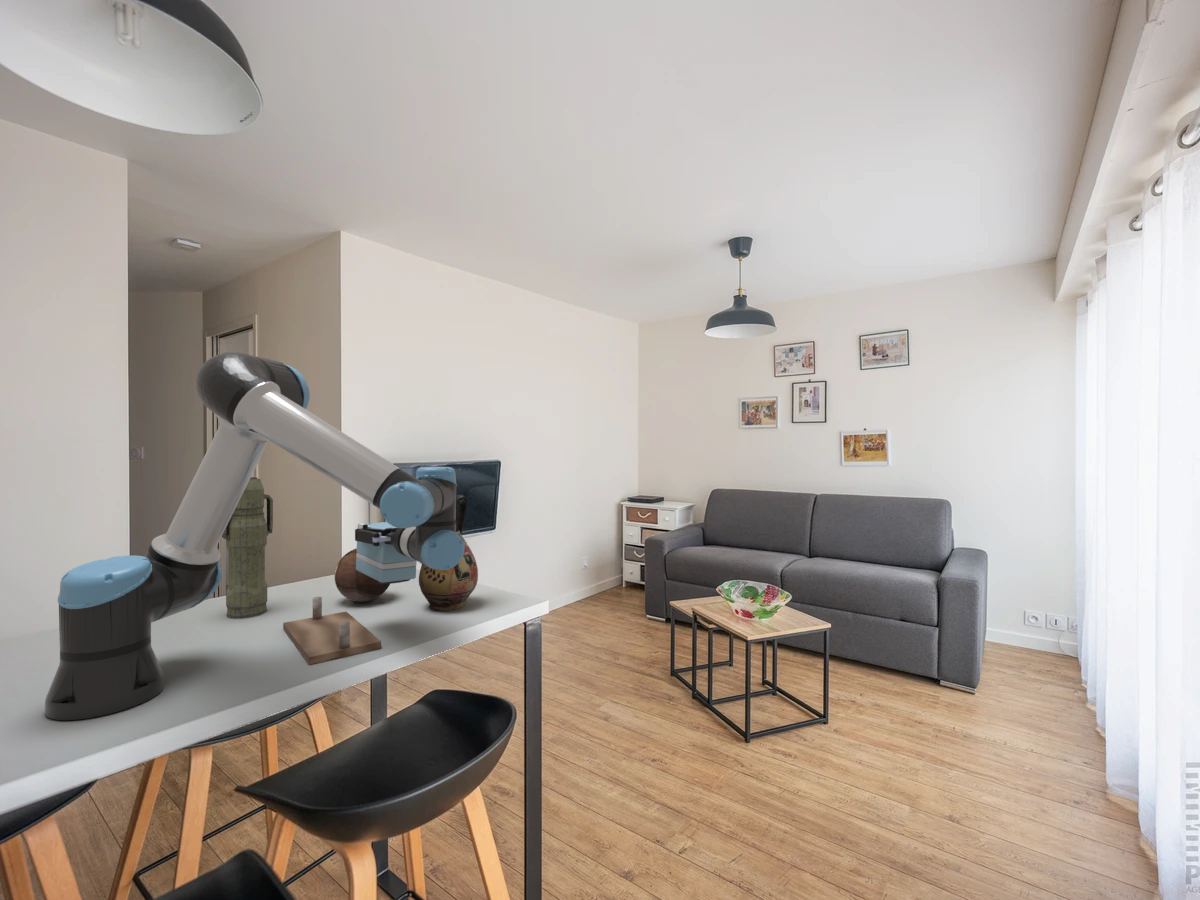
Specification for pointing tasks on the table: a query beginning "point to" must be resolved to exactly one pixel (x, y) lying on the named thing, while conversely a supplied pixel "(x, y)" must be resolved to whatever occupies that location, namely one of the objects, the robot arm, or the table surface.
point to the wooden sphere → (356, 581)
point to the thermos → (248, 552)
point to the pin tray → (329, 635)
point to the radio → (383, 559)
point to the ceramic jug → (451, 574)
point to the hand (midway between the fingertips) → (380, 527)
